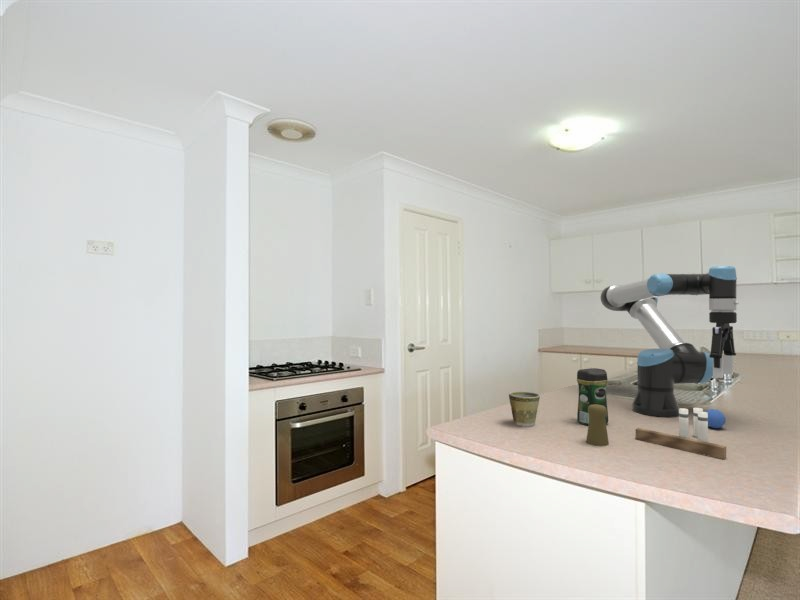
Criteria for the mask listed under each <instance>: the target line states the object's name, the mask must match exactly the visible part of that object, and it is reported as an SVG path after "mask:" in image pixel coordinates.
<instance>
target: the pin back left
mask: <svg viewBox="0 0 800 600" xmlns="http://www.w3.org/2000/svg"><path fill="white" fill-rule="evenodd" d="M678 436H680V437H684V438H689V409H688V408H684V407H679V415H678Z"/></svg>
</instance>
